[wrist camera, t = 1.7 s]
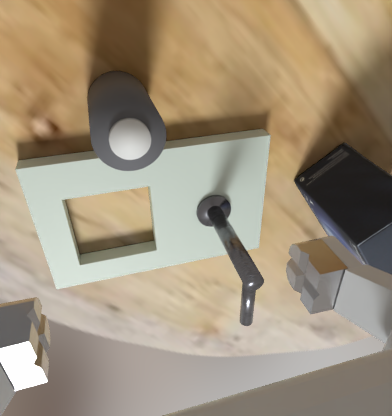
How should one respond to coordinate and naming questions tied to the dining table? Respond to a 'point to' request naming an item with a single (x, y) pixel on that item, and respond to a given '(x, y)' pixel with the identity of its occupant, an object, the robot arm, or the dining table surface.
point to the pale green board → (159, 203)
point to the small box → (352, 204)
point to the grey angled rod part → (232, 250)
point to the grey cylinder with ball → (124, 122)
